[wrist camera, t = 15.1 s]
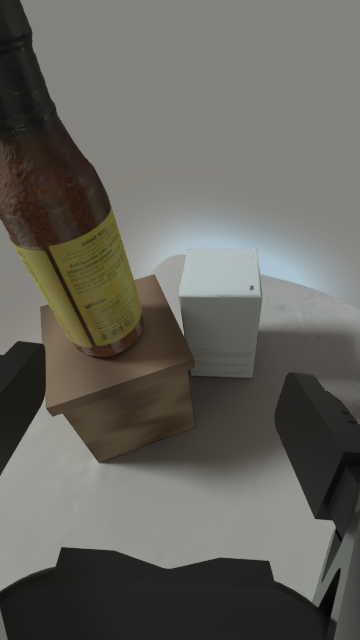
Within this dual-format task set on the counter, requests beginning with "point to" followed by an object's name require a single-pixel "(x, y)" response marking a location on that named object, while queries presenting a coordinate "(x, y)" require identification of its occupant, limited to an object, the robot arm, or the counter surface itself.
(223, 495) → the counter surface
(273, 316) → the counter surface
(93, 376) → the brown wooden box
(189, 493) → the counter surface
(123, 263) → the sauce bottle
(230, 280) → the supplement box
